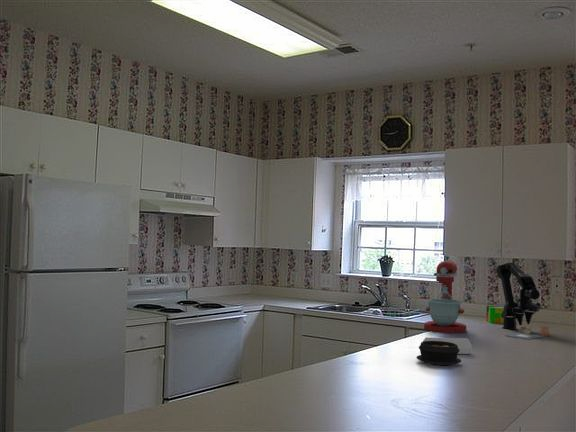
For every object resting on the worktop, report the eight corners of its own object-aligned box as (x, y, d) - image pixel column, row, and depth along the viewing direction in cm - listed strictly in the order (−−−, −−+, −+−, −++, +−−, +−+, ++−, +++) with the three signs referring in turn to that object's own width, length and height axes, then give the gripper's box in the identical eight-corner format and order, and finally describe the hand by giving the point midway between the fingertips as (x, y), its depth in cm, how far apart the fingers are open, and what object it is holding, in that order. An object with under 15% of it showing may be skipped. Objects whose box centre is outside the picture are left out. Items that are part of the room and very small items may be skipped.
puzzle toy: (501, 321, 405) (502, 306, 406) (505, 323, 395) (506, 308, 396) (486, 320, 406) (486, 305, 407) (489, 323, 396) (490, 307, 397)
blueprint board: (504, 335, 343) (504, 335, 343) (518, 333, 354) (518, 332, 354) (528, 339, 333) (528, 338, 333) (542, 337, 343) (542, 336, 343)
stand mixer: (420, 331, 349) (421, 260, 351) (427, 324, 379) (429, 259, 380) (463, 335, 341) (465, 262, 342) (468, 327, 370) (469, 261, 372)
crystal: (424, 346, 279) (476, 347, 280) (420, 336, 285) (471, 337, 287) (421, 359, 282) (472, 360, 284) (418, 348, 289) (468, 349, 290)
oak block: (518, 333, 356) (518, 326, 357) (522, 332, 360) (522, 325, 360) (526, 334, 353) (526, 327, 353) (530, 333, 356) (530, 326, 356)
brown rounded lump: (538, 335, 350) (539, 326, 350) (542, 334, 353) (542, 325, 353) (546, 336, 346) (547, 327, 346) (550, 335, 349) (550, 326, 349)
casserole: (461, 371, 245) (462, 350, 246) (414, 367, 250) (414, 346, 251) (461, 360, 270) (461, 340, 270) (418, 356, 275) (418, 337, 275)
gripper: (530, 299, 345) (530, 327, 344) (546, 298, 357) (545, 325, 357) (512, 297, 353) (511, 325, 353) (527, 296, 366) (527, 322, 365)
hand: (524, 324), depth 357 cm, fingers open, 9 cm apart
